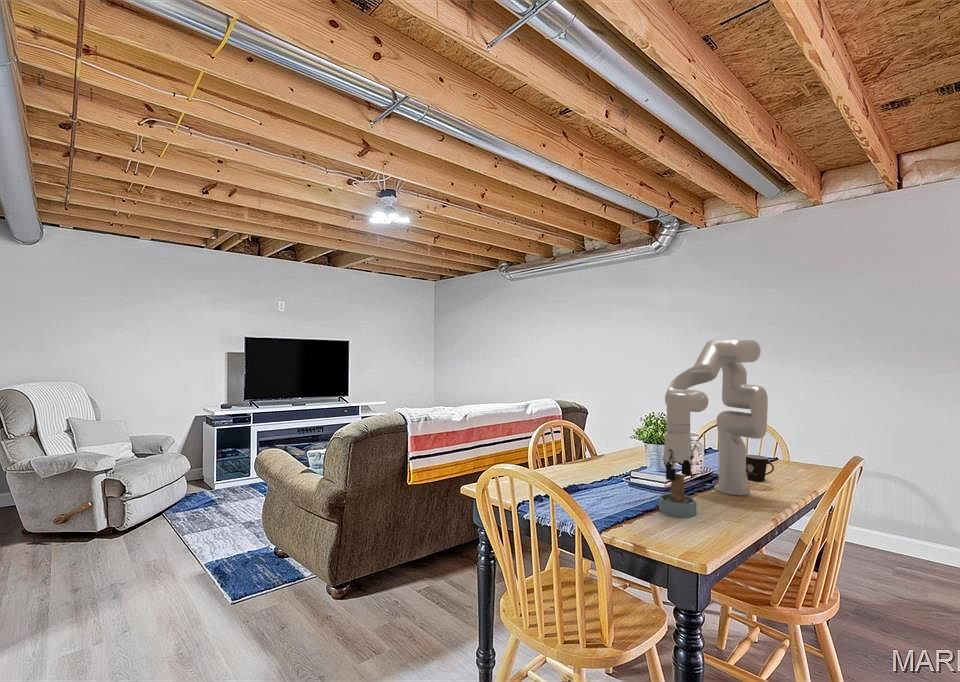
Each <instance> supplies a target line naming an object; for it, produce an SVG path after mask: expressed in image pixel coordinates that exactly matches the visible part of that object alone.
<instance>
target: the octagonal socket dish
mask: <svg viewBox="0 0 960 682" xmlns="http://www.w3.org/2000/svg"><path fill="white" fill-rule="evenodd" d="M658 510H659V511H660V513H661V514H663V515H666V516H670V517H672V518H680V519H681V518H685V519H690V518H693V517H695V516H697V501H696V499H694V497H692V496H687V495H685V494H684V502H681V503H679V502H675V501H672V500H671V493H664V494H660V495H658Z"/></svg>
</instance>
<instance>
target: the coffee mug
mask: <svg viewBox="0 0 960 682" xmlns="http://www.w3.org/2000/svg"><path fill="white" fill-rule="evenodd" d="M768 460H769V458H768V457H767V456H764V455H760V454H746V477H747V478H746V479H748V481H750V482H751V481H752V482H757V483H764V482H765V479H766V476H767V475H770V474H772V472H774V470H775V466H774V465H773V463H771V462H768ZM767 465H770V466H771V470H770V471H769V472H767Z"/></svg>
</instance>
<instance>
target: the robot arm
mask: <svg viewBox="0 0 960 682" xmlns="http://www.w3.org/2000/svg"><path fill="white" fill-rule="evenodd" d="M760 356H761V345H760V344H759V343H758V342H757V341H756V340H754V339H736V338H735V339H734V338H733V339H730V338H729V339H726V338H725V339H722V338H719V339H716V338H715V339H711V340H709V341H707V342H706V343H705V344H704V347H703V348H702V349H701V352H700V354H699V356H698V357H697V359H696V361H695V363H694V364H693V366H692V367H690V368H687V369H686V370H684V371H683V372H681V373H680V374H678V375H677V376H675V377H674V379H672V381H671V382H670V384H669V386H668V387H667V390H666V392H665V396H664V403H665V406H666V433H665V438H664V445H663V446H664V447H663V449H664V450H663V456H662V460H663V464H664V468H665V479H666V480H667V481H670V482H671V481H675V474H676V469H675V466H676V465H677V464H680V463H681V475H684V476H687V477H691V476H692V464H693V461H692V459H693V454H694V449H693V448H692V440H691V413H701V412H703V411H705V410H706V409H707V408H708V405H709V398H708V395H707V394H706V393H705V392H703V391H701V390H694V389H689V388H691V387H694V386H697V385H703V384H704V383H709V382H712V381H714V380H715V379H716V378H717V377H718V374H719V372H720V370H721V372H722V382H721V383H722V388H721V389H722V390H721V400H722V403H723V405H725V406H726V407H728V408H734V409H743V410H744V409H745V410H749V411H750V412H744V411H736V410H724V411H721V412H719V413H718V414H717V417H716V428H717V433H718V483H717V484H714V490H715V491H716V492H718V493H721V494H725V495H726V494H727V495H731V496H749V495H750V493H751V490H750V489H749V488H747V487H746V486H747V485H746V484H749V481H750V480H748V479H747V478H746V477H747V470H746V455H747V448H746V444H745V442H744V440H743V439H742V438H749V439H754V440H755V439H756V440H758V439H762V438H764V437H765V436H766V434H767V430H768V429H767V428H768V407H769V405H768V404H769V398H768V393H767V391H766V389H765V388H764V387H763V386H761V385H756V384H748V382H747V377H748V374H747V373H748V372H747V370H746V368H745V366H744V365H743V363H755V362H756V361H757V360H758V359H759V358H760Z"/></svg>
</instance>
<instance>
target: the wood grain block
mask: <svg viewBox="0 0 960 682" xmlns="http://www.w3.org/2000/svg"><path fill="white" fill-rule="evenodd" d="M670 484H671V487H670V490H671V491H670V494H671V500H672V501H675V502H679V503H681V502H684V495H685V475H683V474H679V473H675V481H671V480H670Z"/></svg>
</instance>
